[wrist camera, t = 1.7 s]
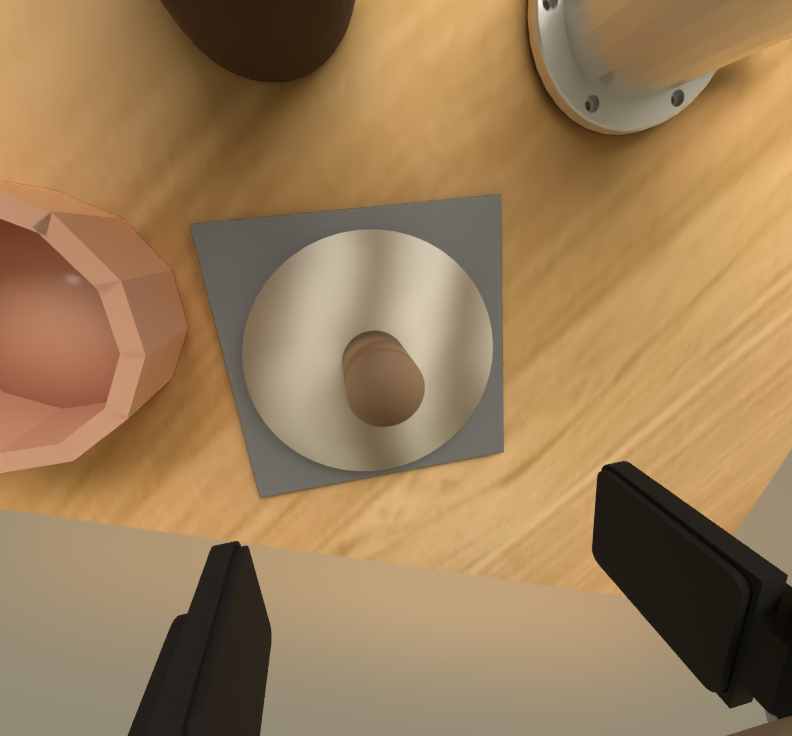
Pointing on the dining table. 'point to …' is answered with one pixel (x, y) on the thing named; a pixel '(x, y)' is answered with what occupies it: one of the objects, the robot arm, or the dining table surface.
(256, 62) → the olive oil
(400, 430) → the lid
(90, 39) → the dining table surface
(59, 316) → the bowl
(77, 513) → the dining table surface
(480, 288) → the mat
